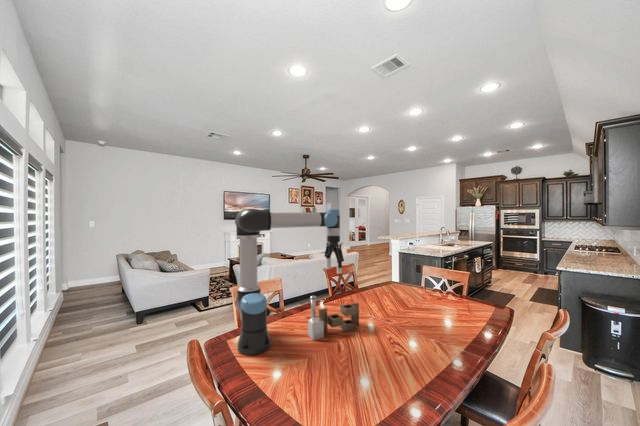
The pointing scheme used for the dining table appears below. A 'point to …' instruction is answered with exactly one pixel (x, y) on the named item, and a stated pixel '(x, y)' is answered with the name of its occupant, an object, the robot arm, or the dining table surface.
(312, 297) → the pin
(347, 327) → the brown holed block
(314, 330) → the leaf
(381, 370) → the dining table surface
